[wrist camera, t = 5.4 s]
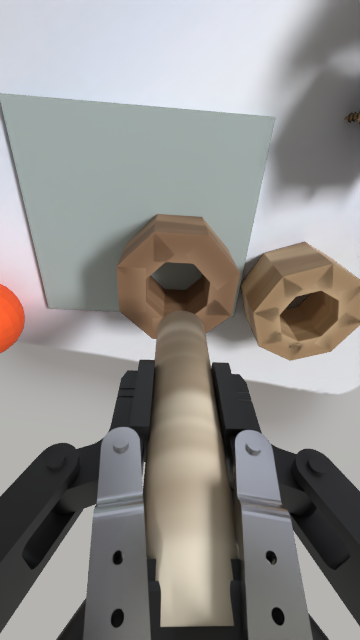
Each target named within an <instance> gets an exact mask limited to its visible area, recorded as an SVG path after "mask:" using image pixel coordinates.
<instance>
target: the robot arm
mask: <svg viewBox="0 0 360 640" xmlns="http://www.w3.org/2000/svg"><path fill="white" fill-rule="evenodd" d="M211 372H212V378H213V385H214V391H215V397H216V403H217V409H218V415H219V421H220V427H221V433H222V440H223V445H224V451H225V457H226V463H227V469H228V475H229V481H230V487H231V493H232V499H233V505H234V513H233V514H234V527H235V541H236V544H237V545H238V547H239V555H240V559H231V566H232V573H233V580H234V581H231V583H230V598H231V606H232V614H233V622H234V626H186V627H160V620H161V588H160V584H159V581H155V577H156V559H147V557H146V539H145V520H144V503H143V489H142V474H143V464H144V462H146V452H147V443H148V440H149V435H150V423H151V411H152V399H153V387H154V375H155V360H140V361H139V367H138V371H127V372H126V374H125V375H124V376H123V377H122V378H121V383H120V387H119V391H118V397H117V400H116V405H115V409H114V414H113V418H112V423H111V427H110V430H109V432H108V433H107V434H106V436H105V437H104V438H103V439H101V440H100V441H98V442H97V443H95V444H92V445H89V446H86V447H83V448H79V449H75V447H74V446H72V445H70V444H67V443H58V444H55V445H52V446H50V447H48V448H47V449H46V450H44V451H43V452H42V453H41V454H40V455H39V456H38V457H37V458H36V459H35V460H34V461H33V462H32V463H31V465H30V466H29V467H28V468H27V469H26V470H25V471H24V472H23V473H22V474H21V475H20V476H19V477H18V478H17V479H16V480H15V482H14V483H13V484H12V485H11V486H10V487H9V488H8V489H7V490H6V491H5V492H4V493H3V494H2V496H0V633H1V631H2V630H3V628H4V627H5V625H6V624H7V622H8V621H9V619H10V618H11V616H12V615H13V613H14V612H15V610H16V609H17V608H18V606H19V604H20V603H21V602H22V600H23V598H24V597H25V596H26V594H27V593H28V591H29V590H30V588H31V587H32V585H33V583H34V582H35V581H36V579H37V578H38V576H39V575H40V573H41V572H42V570H43V568H44V567H45V566H46V564H47V563H48V561H49V560H50V558H51V557H52V555H53V554H54V552H55V551H56V549H57V548H58V546H59V545H60V543H61V542H62V540H63V539H64V537H65V536H66V534H67V533H68V531H69V530H70V528H71V527H72V525H73V524H74V523H75V521H76V520H77V518H78V517H79V515H80V514H81V512H82V511H83V509H84V508H86V507H89V506H92V505H95V504H96V506H95V509H94V515H93V523H92V536H91V547H90V560H89V572H88V584H87V596H86V599H85V600H84V601H83V603H82V604H81V606H80V607H79V608H78V610H77V611H76V613H75V614H74V615H73V617H72V618H71V620H70V621H69V623H68V624H67V625H66V627H65V628H64V629H63V631H62V632H61V634H60V635H59V636H58V638H57V639H56V640H329V639H328V638H327V636H326V635H325V634H324V633H323V631H322V630H321V629H320V628H319V626H318V625H317V624H316V622H315V621H314V620H313V618H312V617H311V616H310V615H309V613H308V610H307V605H306V599H305V594H304V588H303V583H302V577H301V573H300V566H299V561H298V555H297V550H296V544H295V539H294V533H293V530H294V532H295V533H296V535H297V536H298V537H299V539H300V540H301V542H302V543H303V545H304V546H305V547H306V549H307V550H308V552H309V553H310V555H311V556H312V558H313V559H314V560H315V562H316V564H317V565H318V566H319V568H320V569H321V571H322V572H323V573H324V575H325V577H326V578H327V579H328V581H329V582H330V584H331V585H332V587H333V588H334V590H335V591H336V592H337V594H338V595H339V597H340V598H341V600H342V601H343V603H344V604H345V605H346V607H347V608H348V610H349V611H350V613H351V614H352V615H353V617H354V618H355V620H356V621H357V623H358V624H359V626H360V491H359V490H358V489H357V488H356V487H355V486H354V485H353V484H352V483H351V482H350V481H349V480H348V479H347V478H346V477H345V475H344V474H343V473H342V472H341V471H340V470H339V469H338V468H337V467H336V466H335V465H334V464H333V463H332V462H331V461H330V460H329V459H328V458H327V457H326V456H325V455H324V454H322V453H320V452H318V451H316V450H313V449H303V450H301V451H299V452H298V454H294V453H291V452H288V451H285V450H282V449H279V448H277V447H275V446H274V445H272V444H271V443H270V442H269V440H268V439H267V438H266V437H265V436H264V435H263V434H262V433H261V430H260V427H259V424H258V420H257V417H256V413H255V410H254V407H253V403H252V402H251V397H250V394H249V390H248V387H247V384H246V382H245V381H244V379H243V378H242V377H241V376H240V374H231V370H230V366H229V363H215V362H213V363H212V367H211Z"/></svg>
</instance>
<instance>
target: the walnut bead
mask: <svg viewBox="0 0 360 640" xmlns="http://www.w3.org/2000/svg"><path fill="white" fill-rule="evenodd" d="M165 262H172V263H190V264H194V265H195V266H196V267H197V268H198V269H199V270H200V272H201V273H202V276H201V278H200V279H199V280H197V281H196V282H195V283H194V284H192V285H191V286H190V287H189V288H187V289H186V290H176V289H164V288H163V287H162V286H161V285H160V284H159V283H158V282H157V281H156V280H155V279H154V278H153V277H152V276H151V274H152V273H154V272H155V271H156V270H157V269H158V268H159V267H161V266H162V265H163V264H164V263H165ZM116 268H117V283H118V298H119V311H120V312H121V313H122V314H124V315H125V316H126V317H127V318H128V319H130V320H131V321H132V322H133V323H134V324H136V325H137V326H138V327H139V328H140V329H142V330H143V331H144V332H145V333H146V334H147V335H149V336H150V337H151V338H152V339H157V329H158V325H159V322H160V321H161V319H162V318H163V317H164V316H166V315H167V314H169V313H172V312H175V311H188V312H191V313H193V314H195V315H197V316H198V317H199V318H200V319H201V320H202V322H203V324H204V329H205V334H206V333H207V332H209V331H210V330H212V329H213V328H215V327H216V326H217V325H219V324H220V323H222V322H223V321H225V320H226V319H228V318H229V317H231V316H232V311H233V306H234V301H235V296H236V291H237V286H238V281H239V276H240V272H239V270H238V268H237V266H236V264H235V262H234V260H233V258H232V256H231V254H230V252H229V250H228V249H227V247H226V246H225V245H224V244H223V242H222V241H221V240H220V239H219V237H218V236H217V235H216V234H215V232H214V231H213V230H212V229H211V227H210V226H209V225H208V224H207V222H206V221H205V220H204V219H203V217H198V216H182V215H167V214H157V215H156V216H155V217H154V218H153V219H152V220H151V221H150V222H148V223H147V224H146V225H145V226H144V227H143V228H142V229H141V230H140V231H139V232H138V233H137V234H136V235H135V236H134V237H133V238H132V239H131V240H130V241H129V242H128V243H127V244H126V246H125V248H124V251H123V253H122V255H121V257H120V260H119V262H118V264H117V266H116Z"/></svg>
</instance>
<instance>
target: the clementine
mask: <svg viewBox="0 0 360 640" xmlns="http://www.w3.org/2000/svg"><path fill="white" fill-rule="evenodd" d="M24 319H25V315H24V310H23V307H22V305H21V303H20V301H19V299H18V298H17V297H16V295H15V294H14V293H13V292H12V291H11V290H9V289H8V288H7V287H5V286H3V285H2V284H0V353H1V352H4V351H5V350H6V349H8V348H9V347H10V346H11V345H13V344H14V343H15V342H16V341H17V339H18V338H19V336H20V334H21V332H22V330H23V327H24Z"/></svg>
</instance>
